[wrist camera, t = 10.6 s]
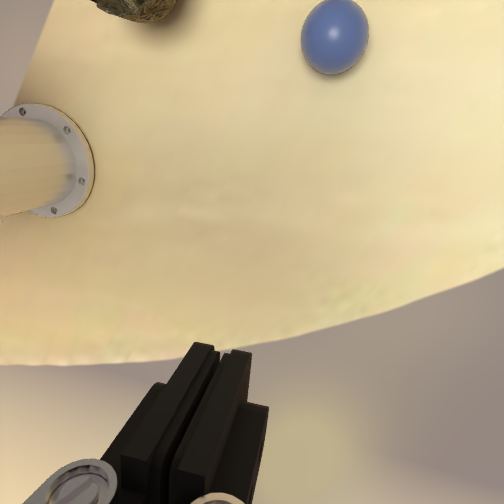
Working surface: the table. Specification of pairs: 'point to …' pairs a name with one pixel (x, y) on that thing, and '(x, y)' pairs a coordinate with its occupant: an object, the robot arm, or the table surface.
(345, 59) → the blue ball
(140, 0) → the cup
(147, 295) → the table surface
